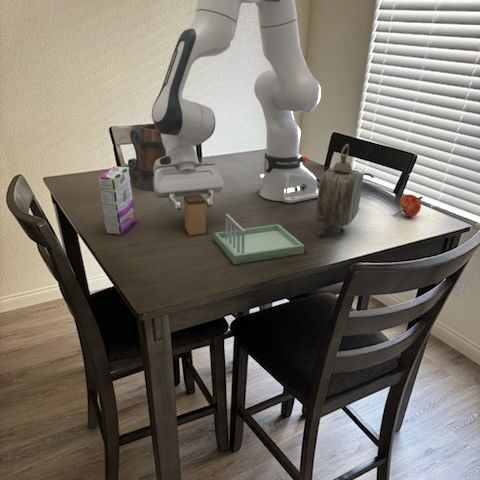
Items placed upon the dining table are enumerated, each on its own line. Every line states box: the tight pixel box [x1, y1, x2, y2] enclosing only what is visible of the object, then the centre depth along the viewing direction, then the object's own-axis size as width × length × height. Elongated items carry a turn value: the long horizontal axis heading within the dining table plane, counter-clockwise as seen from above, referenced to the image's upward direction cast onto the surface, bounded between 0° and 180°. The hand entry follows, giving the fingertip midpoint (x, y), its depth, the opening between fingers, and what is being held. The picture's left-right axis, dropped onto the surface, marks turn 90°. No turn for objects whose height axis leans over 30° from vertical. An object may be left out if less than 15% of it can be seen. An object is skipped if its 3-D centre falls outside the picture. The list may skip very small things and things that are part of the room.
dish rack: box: [213, 213, 305, 265], centre depth 130 cm, size 20×16×8 cm
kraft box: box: [183, 194, 207, 236], centre depth 138 cm, size 5×5×10 cm
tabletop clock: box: [315, 143, 364, 237], centre depth 135 cm, size 14×9×25 cm, turn 155°
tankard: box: [127, 124, 166, 192], centre depth 174 cm, size 24×17×20 cm
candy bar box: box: [97, 165, 136, 235], centre depth 137 cm, size 11×5×16 cm, turn 168°
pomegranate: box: [393, 193, 424, 218], centre depth 153 cm, size 7×7×10 cm
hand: (194, 207), depth 136 cm, fingers open, 8 cm apart
